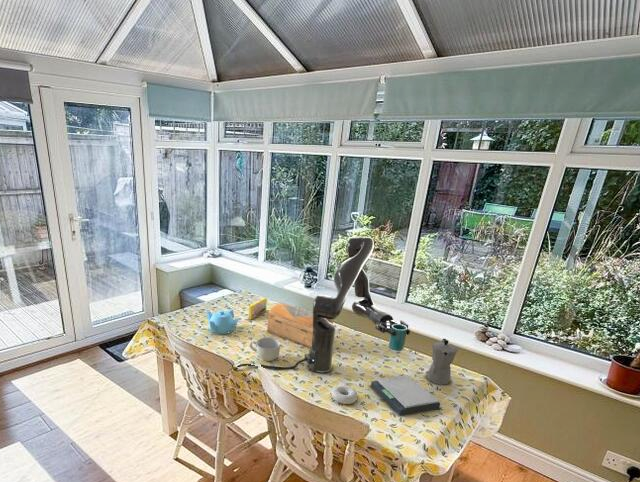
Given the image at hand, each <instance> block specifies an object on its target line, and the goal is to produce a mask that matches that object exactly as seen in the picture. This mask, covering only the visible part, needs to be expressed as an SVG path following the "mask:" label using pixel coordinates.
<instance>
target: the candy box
mask: <svg viewBox="0 0 640 482" xmlns="http://www.w3.org/2000/svg"><path fill="white" fill-rule="evenodd" d="M267 300H268V298H267V297H263V298H261V299H259V300H257V301H256V302H253V303H251V304H249V305H248V320H250V321H252V320H253V319H255V318H256V317H259V316H261V315H262V314H263V313H265V312H266V311H267V302H268V301H267Z"/></svg>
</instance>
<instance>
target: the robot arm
mask: <svg viewBox="0 0 640 482" xmlns="http://www.w3.org/2000/svg"><path fill="white" fill-rule="evenodd" d="M346 245H347V246H346V247H347V248H346V250H347V257H348V259H346V260H345V261H343V262H342V263H340V264H339V266H338V267H337V269H336V271H335V273H334V274H333V283H334V286H335V289H336V292H337V294H336V295H335V296H331V295H325V294H317V295H316V297H315V298H314V300H313V303H312V304H313V305H312V312H313V335H312V346H310V347H309V351H308V353H305V354H304V356H303V357H304V358H302V359H300V360H298V361H297V362H296V363H295V364H294V365H292V366H284V367H283V366H278V365H277V366H276V365H267V364H261V363H260V364H261V366H263V367H262V368H265V369H266V368H267V369H274V370H275V369H277V370H278V369H279V370H292V369H296V368H297V367H298V365H299V364H301V363H304V362H306V363H307V366H308V367H309V369H310V370H311V371H312V372H313V373H321V374H324V373H329V372H330V371H332V365H333V354H334V344H335V335H336V334H335V333H336V328H335V325H334V323H333V324H331V323H330V322H329V321H327V320H326V319H325V318H327V319H332V320H333V321H334V320H337V318H338V317H339V316H340V314H341V312H342V309H343V307H344V305H345V302H346V301H347V297H348V295H349V293H350V292H351V290H352V287H353V288H354V289H353V290H354V295H355V297H357V298H361V299H358V300H355V301H354V302H353V303H352V304H351V310H352V312H353V313H354V314H355V315H357V316H358V317H361V318H365V319H367V320H369V321H370V322H371V323H372V324H374V325H375V326H374V327H375V330H377V331H379V332H380V333H382V334H385V333H386V334H389V336H390V335H392V336H395V335H396V332H395V331H394V330H392V329H391V327H392V325H394V324H400V325H404V326H406V327H407V333H406V336H408V335H410V333H411V329H410V328H409V324H408V323H406V322H405V321H403V320H399V321H396V320H394V317H393V316H392V315H391V314H390V313H388V312H386V311H385V310H383V309H381V308H379V307H377V306H376V305H375V303H374V301H373V298H372V296H371V291H370V281H369V277H368V274H367V273H366V272H365V270H364V269H363V267H364V265H365V264H366V262H367V260H369V258H370V256H371V255H372V253H373V250H374V247H375V246H374V245H375V244H374V239H373V238H372V237H370V236H350V237H349V239H348V240H347V244H346ZM251 364H252V363H240V364H237V367H239V368H241V367H256V366H255V365H251ZM247 365H248V366H247ZM237 369H238V368H236V369H235V370H234V371H236V370H237Z"/></svg>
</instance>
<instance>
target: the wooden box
mask: <svg viewBox="0 0 640 482" xmlns="http://www.w3.org/2000/svg"><path fill="white" fill-rule="evenodd" d="M325 319H326V320H327V321H329V322H330V323H331V324H333V325H334V320H332V319H327V318H325ZM266 331H267V332H268V333H271V334H273V335H276V336H278V337H282V338H284V339H287V340H289V341H292V342H295V343H297V344H300V345H303V346H305V347H308V348H310V346H312V335H313V311H311V310H308V309H304V308H301V307H299V306H298V307H297V306H294V305H290V304H287V303H283V302H278V303H276V304H274V305H273V306H271V308H270V309H269V311H268V313H267V323H266Z"/></svg>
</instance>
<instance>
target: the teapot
mask: <svg viewBox="0 0 640 482" xmlns="http://www.w3.org/2000/svg"><path fill="white" fill-rule="evenodd" d="M205 313H206V317H207V318H206V319H207V321H208V329H209V331H211V333H213V334H216V335H220V336H221V335H223V336H224V335H228V334H231V333H232V332H233V331H234V330H235V329H236V326H237V324H238V321H239V318H238V317H235V314H234V310H233V309H231V308H230V309H229V308H228V309H227V310H224V309H221V310H218V311H216V312H214V313H213V314H212V313H211V311H210V310H206V311H205ZM214 332H215V333H214ZM228 332H229V333H228Z"/></svg>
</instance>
